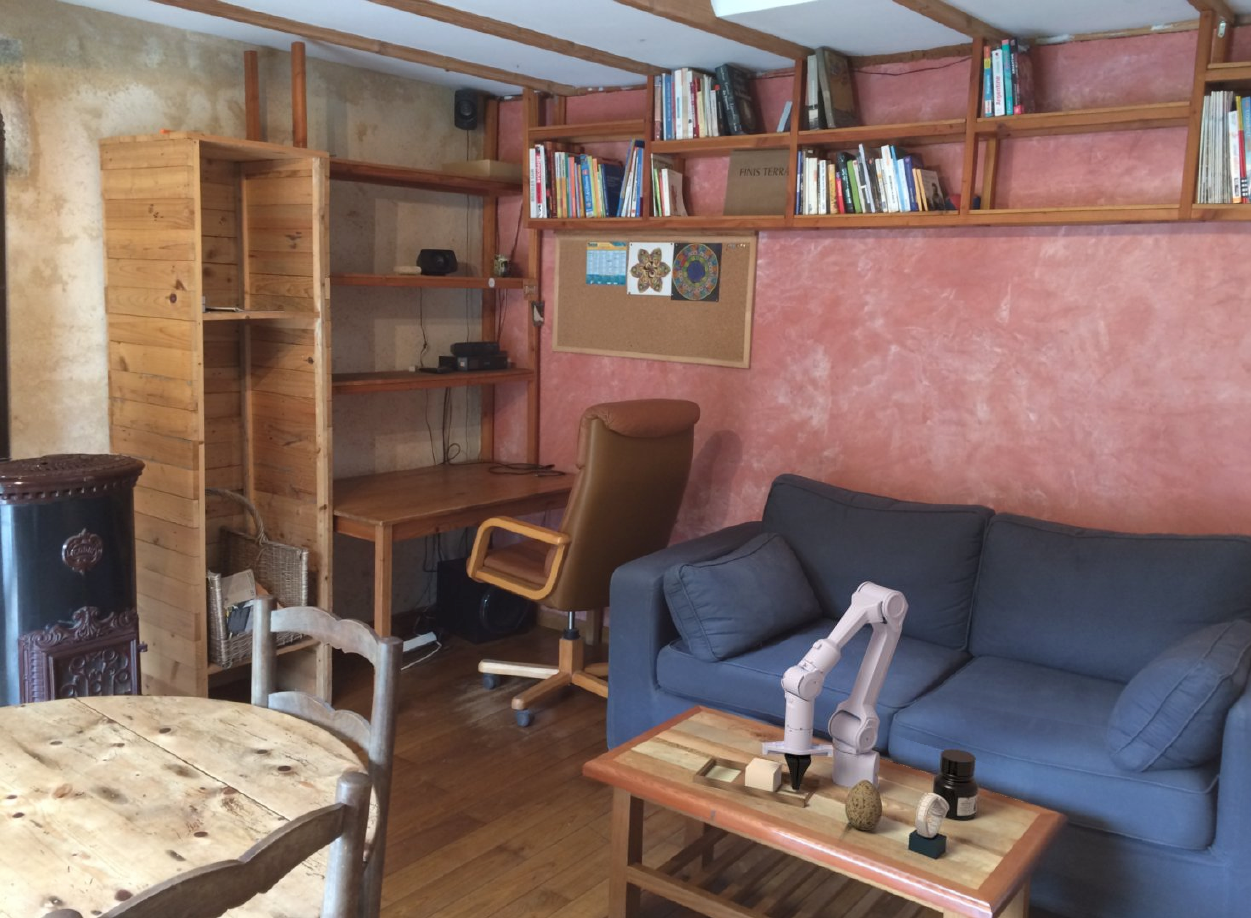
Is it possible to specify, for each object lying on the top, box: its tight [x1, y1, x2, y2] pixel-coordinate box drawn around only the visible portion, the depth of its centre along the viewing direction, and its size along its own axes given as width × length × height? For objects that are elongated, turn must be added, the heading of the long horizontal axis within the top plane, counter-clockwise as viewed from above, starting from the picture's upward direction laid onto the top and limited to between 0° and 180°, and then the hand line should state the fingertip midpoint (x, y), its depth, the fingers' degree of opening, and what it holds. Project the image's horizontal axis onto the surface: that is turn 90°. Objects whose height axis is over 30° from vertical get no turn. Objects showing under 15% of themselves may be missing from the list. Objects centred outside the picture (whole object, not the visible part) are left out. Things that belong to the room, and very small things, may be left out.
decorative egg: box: [844, 780, 883, 831], centre depth 217 cm, size 7×7×10 cm
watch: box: [907, 792, 949, 860], centre depth 208 cm, size 6×8×11 cm
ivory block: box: [745, 757, 783, 792], centre depth 231 cm, size 6×6×4 cm
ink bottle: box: [932, 748, 979, 821], centre depth 225 cm, size 10×9×12 cm
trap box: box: [692, 756, 821, 809], centre depth 232 cm, size 24×12×3 cm, turn 65°
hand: (795, 787), depth 229 cm, fingers closed
